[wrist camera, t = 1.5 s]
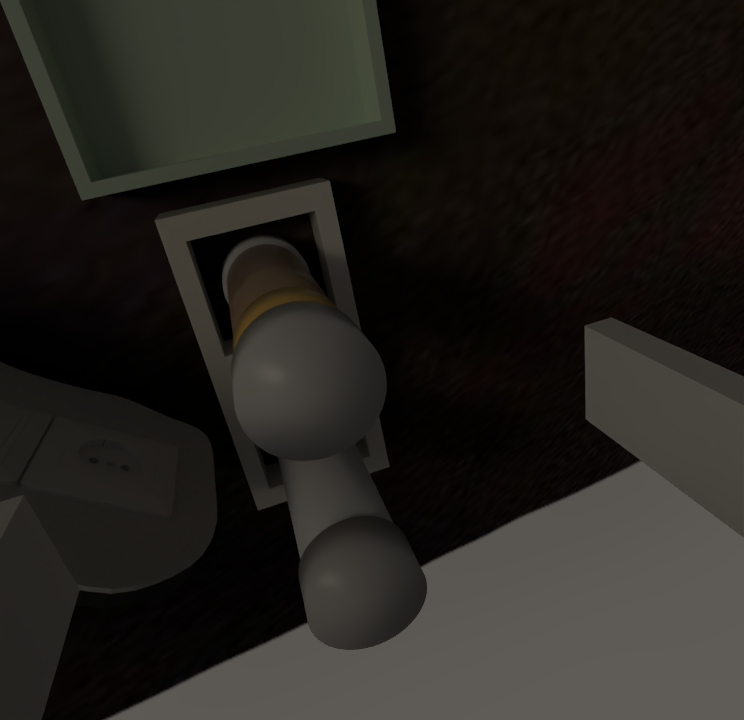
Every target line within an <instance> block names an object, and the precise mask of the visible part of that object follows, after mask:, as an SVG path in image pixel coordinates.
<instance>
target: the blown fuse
mask: <svg viewBox="0 0 744 720" xmlns="http://www.w3.org/2000/svg"><path fill="white" fill-rule="evenodd" d="M222 284H223V291H224V295H225V298H226V300H227V302H228V304H229V307H230V315H231V323H232V331H233V351H234V352H233V356H232V361H231V377H232V387H233V398H234V407H235V412H236V416H237V419H238V421H239V423H240V426H241V427H242V429H243V430H244V432H245V434H246V435H247V436H248V437H249V438H250V439H251V441H253V442H254V443H255V444H256V445H257V446H258V447H260V448H261V449H263V450H264V451H266V452H268V453H270V454H272V455H274V456H277V457H280V458H283V459H288V460H295V461H312V460H319V459H323V458H327V457H331V456H333V455H336V454H338V453H341V452H342V451H344V450H346V449H348V448H350V447H351V446H353V445H354V444H356V443H357V442H358V441H359V440H360V439H362V438H363V437H364V436H365V435H366V434H367V432H368V431H369V430H370V429H371V428H372V426H373V425H374V424H375V422H376V420H377V419H378V417H379V415H380V413H381V410H382V408H383V405H384V401H385V397H386V391H387V379H386V372H385V368H384V365H383V362H382V360H381V358H380V356H379V354H378V352H377V351H376V349H375V348H374V346H373V345H372V344H371V343H370V341H369V340H368V339H367V338H366V336H365V335H364V334H363V333H362V331H361V330H360V329H359V328H358V326H357V325H356V324H355V323H354V322H353V320H352V319H350V318H349V317H348V316H347V315H346V314H344V313H343V312H341V311H340V310H339V309H338V308H337V307H336V306H335V304H334V303H333V302H331V301H330V300H329V298H328V297H327V296H326V294H325V293H324V292H323V290H322V289H321V288H320V286H319V285H318V284H317V282H316V281H315V280H314V278H313V277H312V276H311V274H310V271H309V268H308V266H307V264H306V262H305V260H304V259H303V257H302V256H301V255H300V253H299V252H298V251H297V250H296V249H295V247H294V246H293V245H292V244H291V243H289V242H288V241H287V240H285V239H283V238H281V237H279V236H276V235H273V234H267V233H258V234H253V235H249V236H247V237H244V238H242V239H241V240H239V241H238V242H236V243H235V244H234V245H233V246H232V247H231V248H230V250H229V251H228V253H227V254H226V256H225V258H224V261H223V265H222Z"/></svg>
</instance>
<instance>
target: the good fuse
mask: <svg viewBox="0 0 744 720" xmlns="http://www.w3.org/2000/svg"><path fill="white" fill-rule="evenodd" d="M278 459H279V464H280V469H281V473H282V478H283V482H284V487H285V491H286V496H287V501H288V505H289V510H290V514H291V519H292V524H293V528H294V533H295V537H296V542H297V546H298V551H299V556H300V563H299V570H298V574H299V581H300V586H301V591H302V596H303V601H304V605H305V610H306V615H307V620H308V624H309V626H310V629H311V631H312V633H313V634H314V636H315V637H316V638H318V639H319V640H320V641H321V642H323V643H324V644H326V645H328V646H331V647H334V648H338V649H346V650H348V649H349V650H353V649H363V648H368V647H372V646H375V645H378V644H380V643H383V642H385V641H387V640H389V639H391V638H393V637H394V636H396V635H397V634H399V633H400V632H401V631H403V630H404V629H405V628H406V627H407V626H408V625H409V624H410V623H411V622H412V621H413V620H414V619H415V618H416V616H417V615H418V613H419V612H420V610H421V608H422V606H423V604H424V601H425V598H426V593H427V583H426V578H425V575H424V573H423V571H422V569H421V567H420V565H419V563H418V561H417V559H416V557H415V555H414V553H413V551H412V549H411V547H410V545H409V543H408V541H407V539H406V537H405V535H404V533H403V532H402V530H401V529H400V528H399V527H398V526H397V525H395V524H394V523H393V522H392V519H391V517H390V515H389V513H388V511H387V509H386V507H385V505H384V503H383V501H382V499H381V497H380V495H379V492H378V490H377V488H376V486H375V484H374V482H373V480H372V478H371V476H370V474H369V472H368V470H367V467H366V465H365V463H364V461H363V459H362V457H361V455H360V453H359V451H358V449H357V447H356V445H355V444H354V445H353V446H351V447H350V448H348V449H346V450H344V451H342V452H341V453H338V454H336V455H333V456H331V457H327V458H323V459H319V460H312V461H295V460H288V459H283V458H280V457H278Z"/></svg>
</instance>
